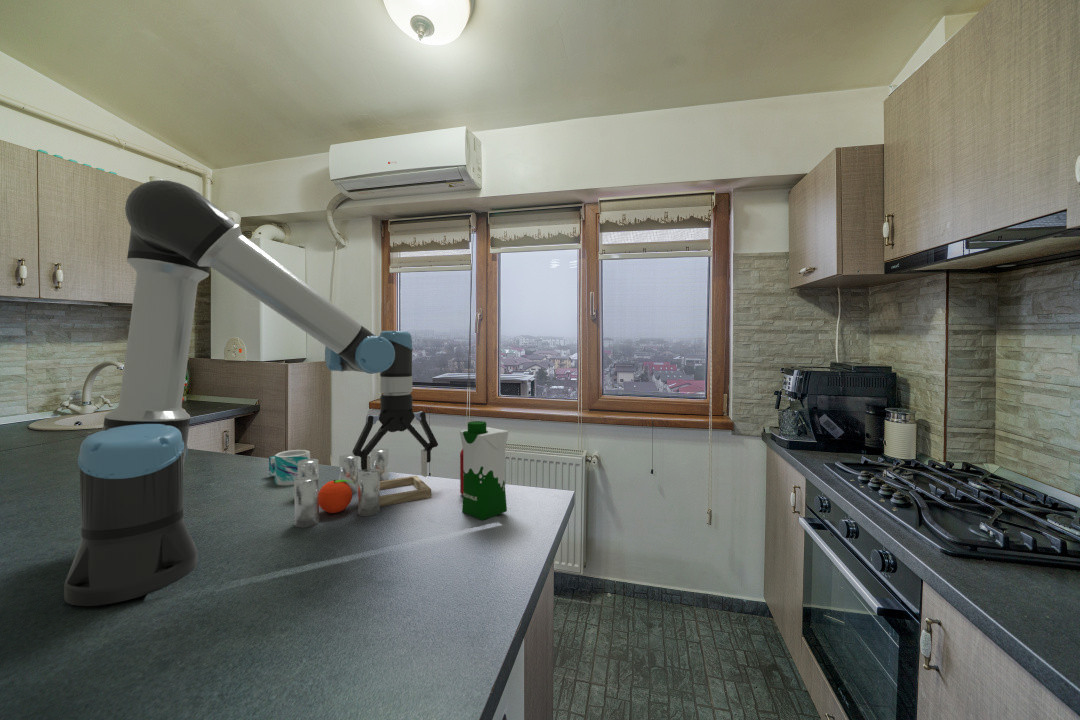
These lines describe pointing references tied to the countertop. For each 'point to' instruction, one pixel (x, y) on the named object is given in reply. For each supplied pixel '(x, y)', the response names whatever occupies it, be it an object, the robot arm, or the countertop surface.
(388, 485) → the beech corral
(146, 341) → the robot arm
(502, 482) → the milk carton
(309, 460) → the spacer field
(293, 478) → the mug
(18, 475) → the countertop surface
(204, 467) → the countertop surface
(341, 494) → the clementine
